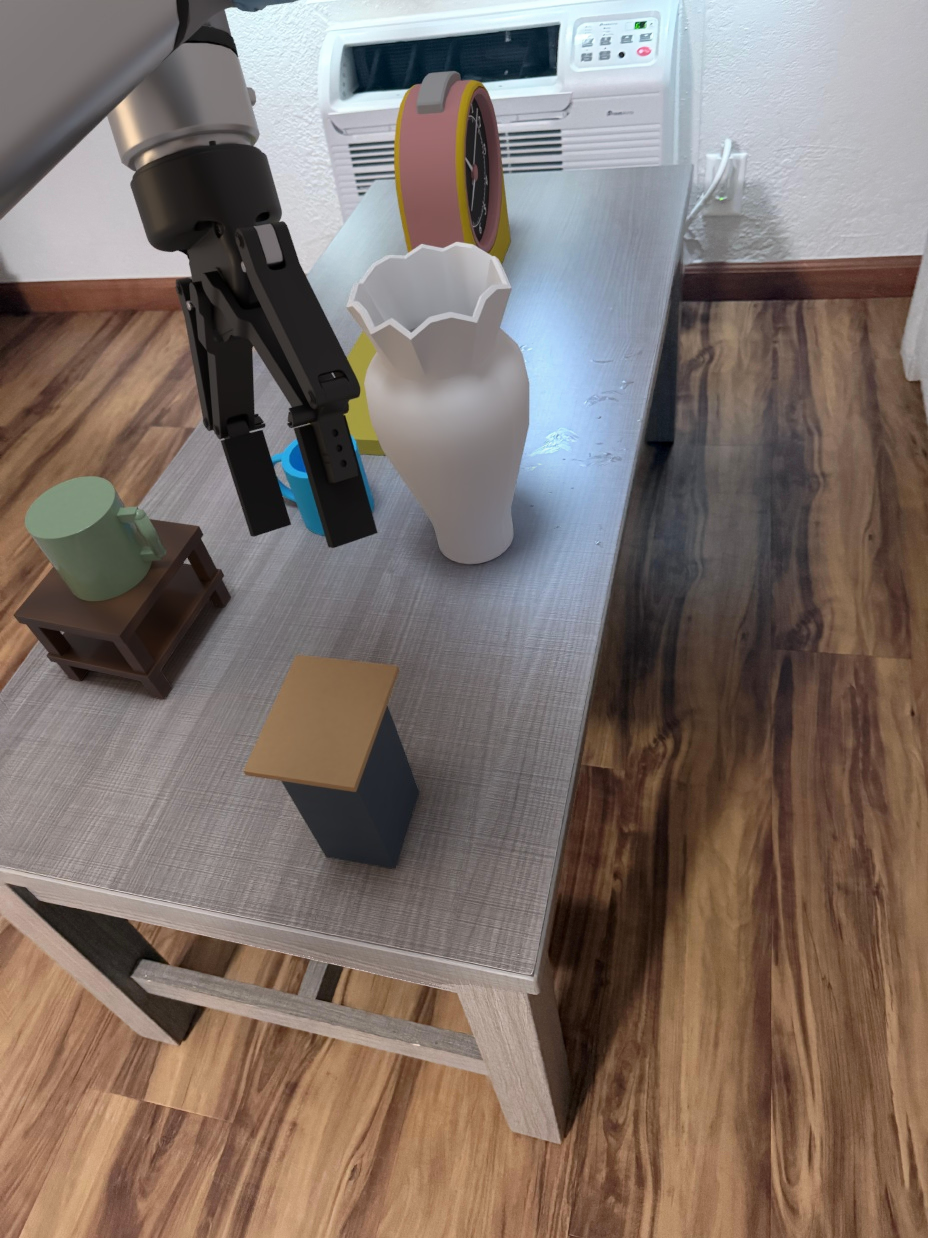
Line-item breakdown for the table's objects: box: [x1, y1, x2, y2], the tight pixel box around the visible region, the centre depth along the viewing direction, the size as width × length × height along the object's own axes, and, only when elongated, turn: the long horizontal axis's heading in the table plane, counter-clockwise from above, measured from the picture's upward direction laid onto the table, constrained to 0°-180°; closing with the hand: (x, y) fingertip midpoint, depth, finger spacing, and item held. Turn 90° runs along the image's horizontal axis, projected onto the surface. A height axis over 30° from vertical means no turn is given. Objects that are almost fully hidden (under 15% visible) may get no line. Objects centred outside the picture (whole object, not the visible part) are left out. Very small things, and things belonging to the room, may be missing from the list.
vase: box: [345, 242, 530, 565], centre depth 82 cm, size 15×15×29 cm
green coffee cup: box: [24, 475, 167, 601], centre depth 80 cm, size 10×8×8 cm
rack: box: [12, 518, 232, 700], centre depth 87 cm, size 14×12×10 cm
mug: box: [271, 435, 375, 537], centre depth 96 cm, size 12×8×8 cm
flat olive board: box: [306, 330, 387, 457], centre depth 112 cm, size 12×2×24 cm
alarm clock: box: [393, 70, 512, 266], centre depth 119 cm, size 21×9×26 cm, turn 167°
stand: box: [243, 654, 420, 870], centre depth 67 cm, size 10×8×16 cm
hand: (308, 535), depth 54 cm, fingers open, 13 cm apart
